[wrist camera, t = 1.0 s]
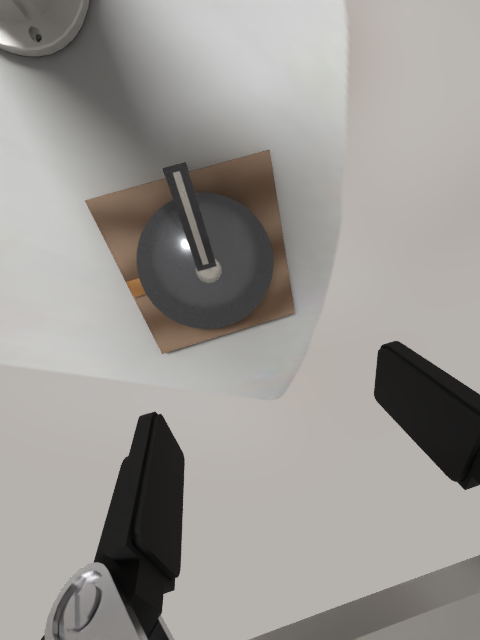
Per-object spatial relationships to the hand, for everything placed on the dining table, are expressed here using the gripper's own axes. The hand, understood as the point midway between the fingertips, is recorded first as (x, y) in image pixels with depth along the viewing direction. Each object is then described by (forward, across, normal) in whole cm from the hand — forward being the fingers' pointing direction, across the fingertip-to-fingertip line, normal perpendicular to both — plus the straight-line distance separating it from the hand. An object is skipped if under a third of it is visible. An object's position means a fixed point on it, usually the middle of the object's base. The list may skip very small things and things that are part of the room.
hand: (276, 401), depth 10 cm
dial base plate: (+23, +2, -1) cm, 23 cm away
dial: (+22, +2, -2) cm, 22 cm away
